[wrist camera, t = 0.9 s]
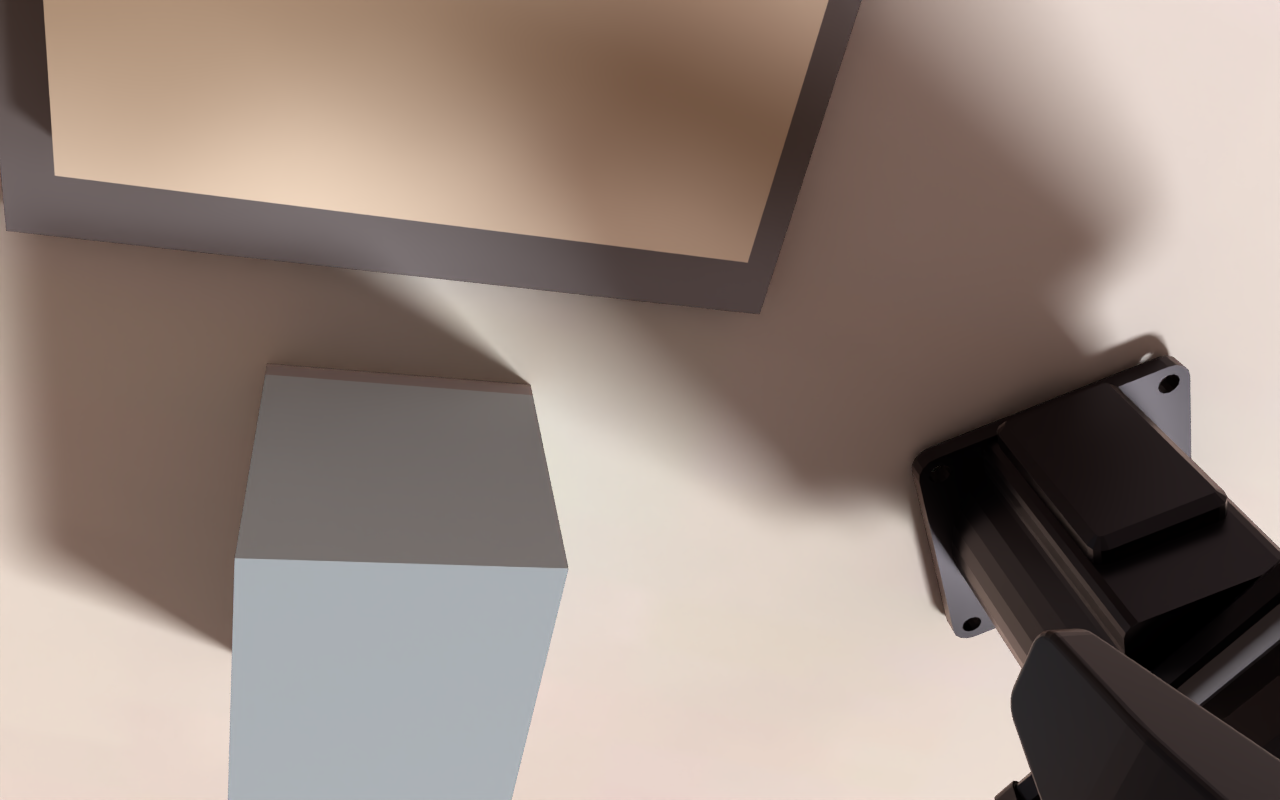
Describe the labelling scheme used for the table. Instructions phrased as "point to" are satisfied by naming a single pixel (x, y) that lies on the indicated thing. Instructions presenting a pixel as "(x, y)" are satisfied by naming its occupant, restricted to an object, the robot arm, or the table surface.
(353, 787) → the block
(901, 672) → the table surface
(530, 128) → the board
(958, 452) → the robot arm
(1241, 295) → the table surface
